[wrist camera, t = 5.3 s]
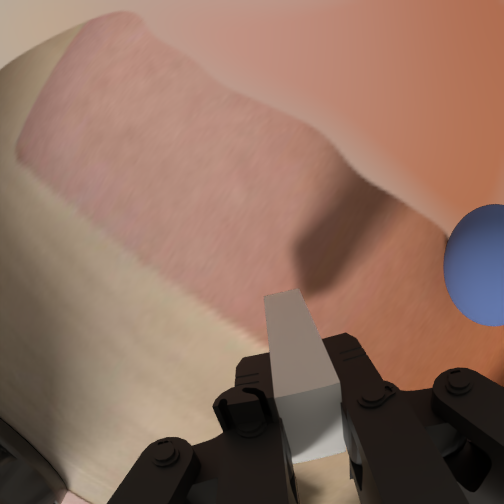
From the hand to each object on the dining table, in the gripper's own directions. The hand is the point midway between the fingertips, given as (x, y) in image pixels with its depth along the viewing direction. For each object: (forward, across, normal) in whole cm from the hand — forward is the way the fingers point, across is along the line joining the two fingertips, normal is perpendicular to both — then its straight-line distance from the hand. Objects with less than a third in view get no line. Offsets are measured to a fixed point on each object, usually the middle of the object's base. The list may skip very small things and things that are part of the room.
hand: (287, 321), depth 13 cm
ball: (-1, -11, 0) cm, 11 cm away
